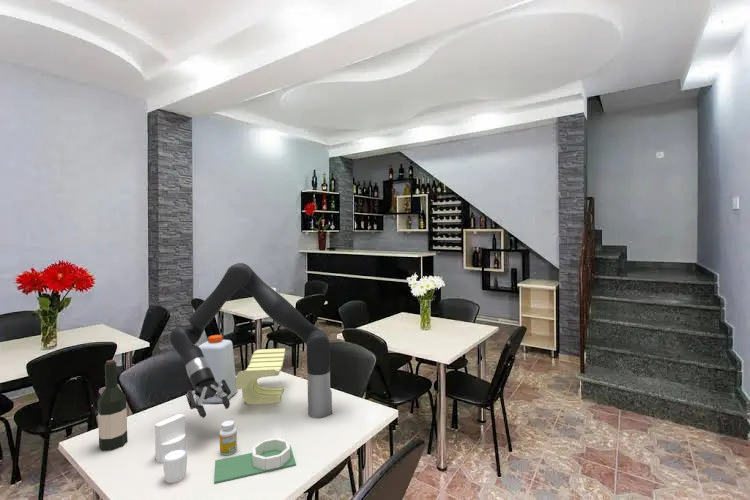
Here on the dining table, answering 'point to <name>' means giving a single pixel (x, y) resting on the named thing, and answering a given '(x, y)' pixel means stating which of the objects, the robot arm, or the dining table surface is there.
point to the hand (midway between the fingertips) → (216, 412)
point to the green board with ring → (255, 461)
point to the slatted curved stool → (261, 366)
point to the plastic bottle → (220, 364)
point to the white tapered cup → (175, 465)
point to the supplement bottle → (228, 438)
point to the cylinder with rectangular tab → (170, 435)
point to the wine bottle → (112, 412)
